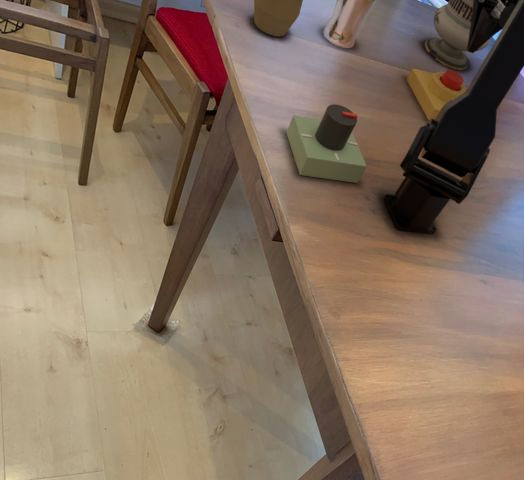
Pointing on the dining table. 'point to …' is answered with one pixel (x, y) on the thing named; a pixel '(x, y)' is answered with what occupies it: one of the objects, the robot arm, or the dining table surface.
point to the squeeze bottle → (276, 15)
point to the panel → (323, 153)
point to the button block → (431, 91)
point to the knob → (336, 127)
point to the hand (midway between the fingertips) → (470, 51)
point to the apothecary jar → (452, 34)
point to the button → (452, 80)
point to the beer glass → (346, 21)
